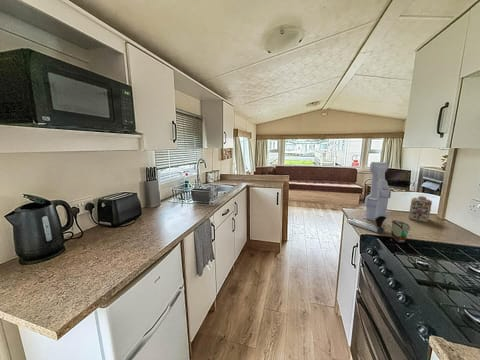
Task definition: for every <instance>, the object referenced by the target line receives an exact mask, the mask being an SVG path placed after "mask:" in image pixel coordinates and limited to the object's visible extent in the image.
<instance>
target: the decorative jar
mask: <svg viewBox="0 0 480 360" xmlns="http://www.w3.org/2000/svg"><path fill="white" fill-rule="evenodd" d="M432 203H433V201H432V200H430V199H428V198H427V197H426V196H423V195H422V196H421V195H418V197H412V198H411V201H410V206H409V214H408V220H413V221H417V222H422V221H423V223H427V222H428V223H429V219H430V215H431V212H432V211H431V209H432V205H433V204H432Z"/></svg>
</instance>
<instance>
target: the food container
mask: <svg viewBox="0 0 480 360" xmlns="http://www.w3.org/2000/svg"><path fill="white" fill-rule="evenodd" d="M409 231H411V226H410V224H408V223H406V222H404V221H402V220H401V221H400V220H397V219H396V220H395V219H394V220H393V219H392V221H391V232H390V237H392V238H393V239H394V240H395V241H396V242H398V243H400V244H402V243H406V240H407V238H408V237H407V236H408V234H409Z"/></svg>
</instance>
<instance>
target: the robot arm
mask: <svg viewBox="0 0 480 360" xmlns="http://www.w3.org/2000/svg"><path fill="white" fill-rule="evenodd" d="M388 166H389V164H388V162H386V161H385V162H384V161H371V163H370V166H369V173H371V176H372V177H371V182H370V193H369V194H367V195H366V196H365V199H364V206H365V207H366V208H365V216H363V217H362V218H363V219H364V220H365V219H366V220H369V221H373V222H374V221H375V223H376V225H375V226H378V227H381V228H382V227H383V226H382V225H383V223H384V222H385V220H386V219H387V217H389V215H388V211H387V209H388V204H389V199H390V198H391V195H392V192H391V189H390V188H389V184H388V181H387V180H386V172H387V170H388V169H389V167H388Z"/></svg>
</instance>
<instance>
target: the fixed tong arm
mask: <svg viewBox="0 0 480 360" xmlns="http://www.w3.org/2000/svg"><path fill="white" fill-rule="evenodd" d="M346 223H347V224H350V225H353V226H355V227H356V226H357V227H359V228H362V229H364V230H367V229H368V230H367V231H370V230H371V231H370V232H373V231H374V232H373V233H376V234H379V235H382V234H383V233H382V229H378V228H375V227H372V226H369V225H366V224H363V223H360V222H357V221H354V220H351V219H350V218H347V219H346ZM381 233H382V234H381Z"/></svg>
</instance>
